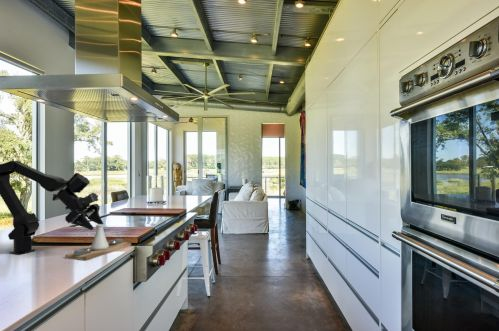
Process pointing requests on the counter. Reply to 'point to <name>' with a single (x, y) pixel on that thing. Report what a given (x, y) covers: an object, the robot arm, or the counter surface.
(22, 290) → the counter surface
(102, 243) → the flask
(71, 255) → the tan board
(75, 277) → the counter surface
